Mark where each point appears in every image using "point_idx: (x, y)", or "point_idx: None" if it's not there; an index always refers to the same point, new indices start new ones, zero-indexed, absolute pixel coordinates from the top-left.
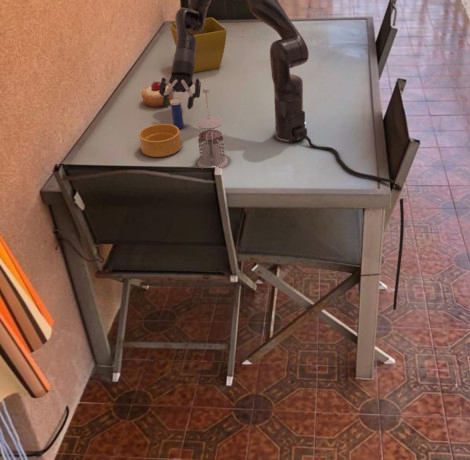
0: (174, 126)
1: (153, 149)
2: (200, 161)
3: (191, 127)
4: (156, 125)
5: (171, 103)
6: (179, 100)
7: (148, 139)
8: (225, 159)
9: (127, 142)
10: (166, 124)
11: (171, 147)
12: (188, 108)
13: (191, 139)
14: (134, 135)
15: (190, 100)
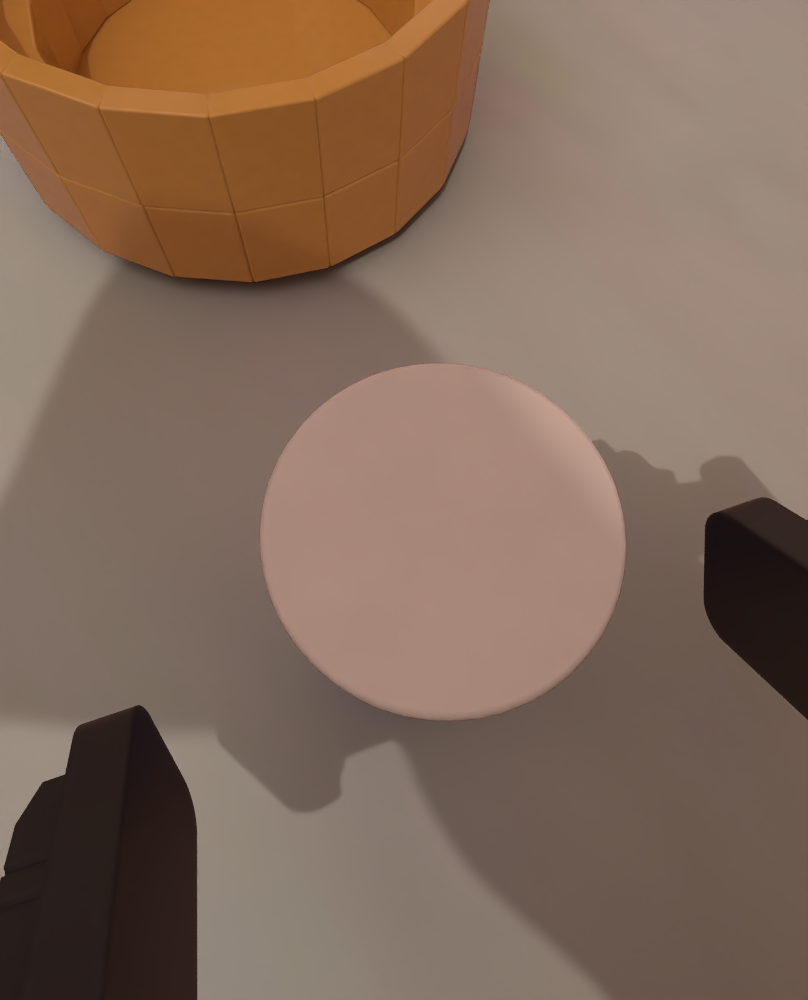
0: (81, 81)
1: None
2: None
3: (221, 718)
4: (404, 32)
5: (474, 378)
6: (335, 615)
7: (412, 17)
8: None
9: (688, 88)
10: (259, 91)
11: None
12: (163, 757)
13: (27, 409)
14: (752, 228)
15: (53, 939)
